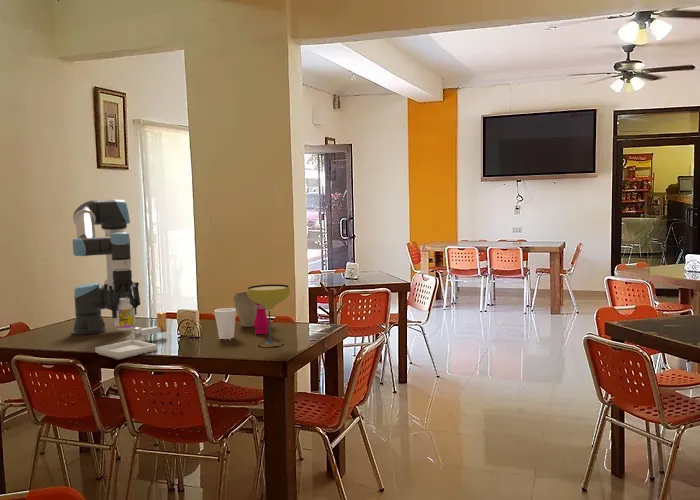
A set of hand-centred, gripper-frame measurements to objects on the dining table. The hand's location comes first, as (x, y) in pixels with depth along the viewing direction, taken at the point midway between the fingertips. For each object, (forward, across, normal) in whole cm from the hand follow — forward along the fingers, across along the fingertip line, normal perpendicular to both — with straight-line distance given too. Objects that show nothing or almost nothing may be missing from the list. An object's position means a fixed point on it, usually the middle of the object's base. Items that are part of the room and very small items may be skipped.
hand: (125, 324), depth 275 cm
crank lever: (+9, +19, +12) cm, 24 cm away
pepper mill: (+12, +57, -21) cm, 62 cm away
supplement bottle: (+2, 0, 0) cm, 2 cm away
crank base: (+12, +13, +13) cm, 22 cm away
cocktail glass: (+12, +43, -42) cm, 61 cm away
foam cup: (+12, +41, -15) cm, 45 cm away
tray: (+12, 0, 0) cm, 12 cm away
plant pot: (+12, +67, -1) cm, 68 cm away
